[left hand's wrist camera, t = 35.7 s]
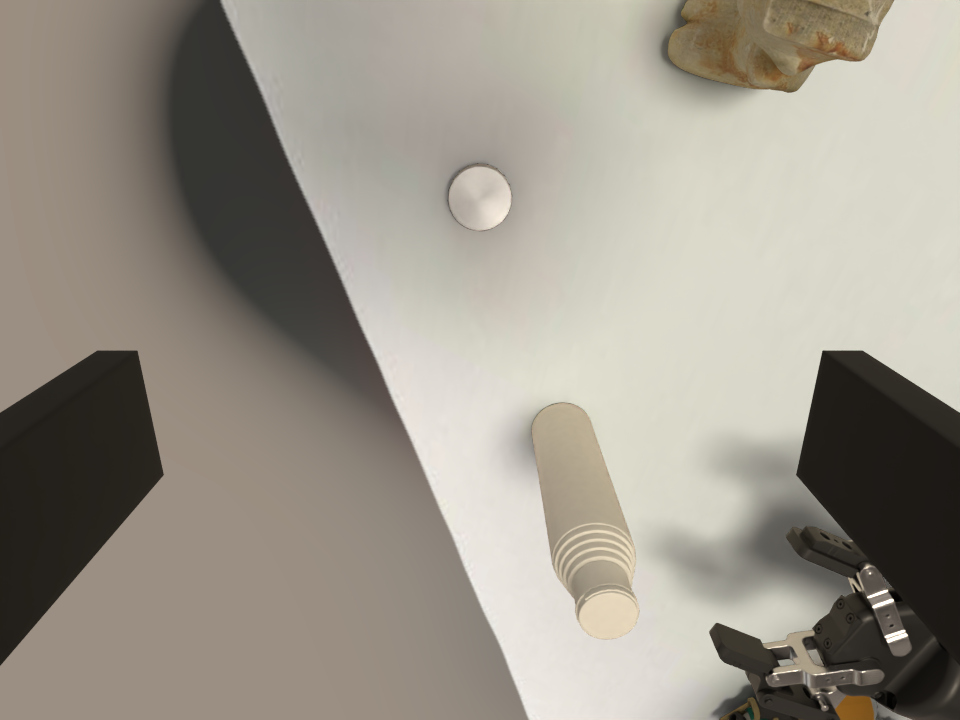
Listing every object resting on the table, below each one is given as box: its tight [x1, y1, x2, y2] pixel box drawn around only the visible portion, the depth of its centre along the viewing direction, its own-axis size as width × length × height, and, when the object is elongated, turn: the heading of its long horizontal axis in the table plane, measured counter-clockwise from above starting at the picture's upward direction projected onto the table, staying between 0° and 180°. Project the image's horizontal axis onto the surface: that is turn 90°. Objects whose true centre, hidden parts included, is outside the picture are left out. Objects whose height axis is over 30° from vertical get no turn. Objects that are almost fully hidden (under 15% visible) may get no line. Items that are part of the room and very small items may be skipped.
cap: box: [448, 163, 512, 231], centre depth 42 cm, size 4×4×2 cm
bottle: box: [532, 403, 639, 639], centre depth 41 cm, size 5×5×20 cm
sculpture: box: [668, 0, 894, 93], centre depth 33 cm, size 6×7×15 cm
